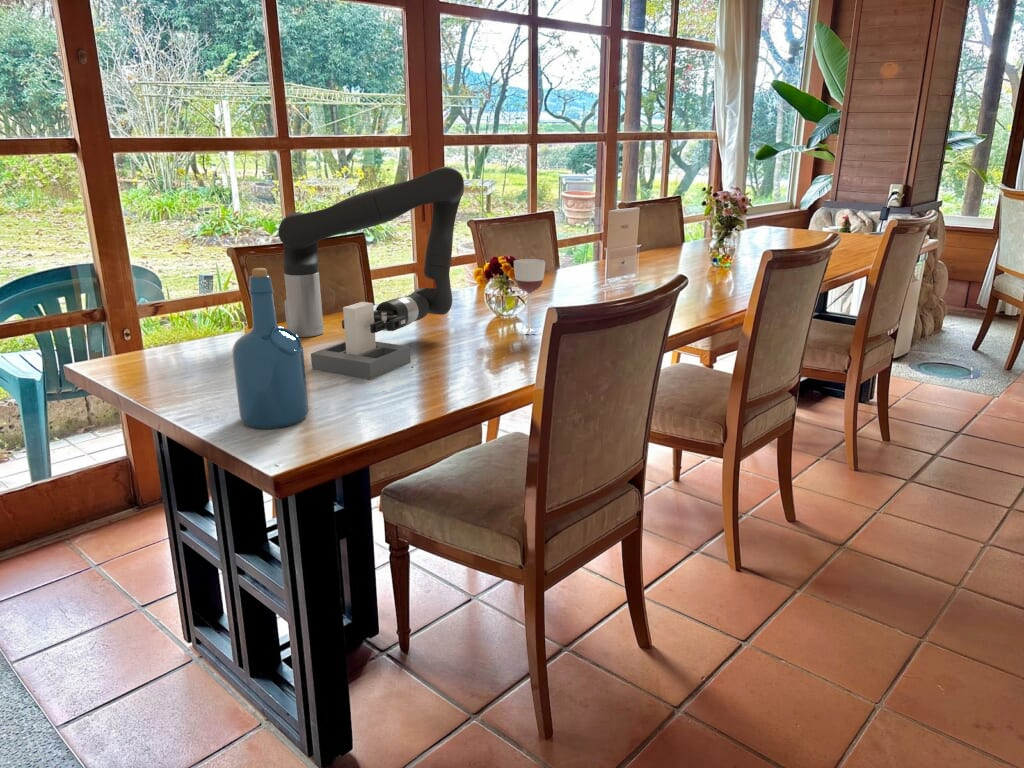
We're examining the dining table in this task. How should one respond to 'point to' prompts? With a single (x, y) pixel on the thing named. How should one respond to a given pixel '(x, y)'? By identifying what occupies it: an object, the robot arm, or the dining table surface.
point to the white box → (359, 328)
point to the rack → (361, 360)
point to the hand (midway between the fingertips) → (357, 326)
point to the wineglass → (529, 279)
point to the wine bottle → (269, 365)
